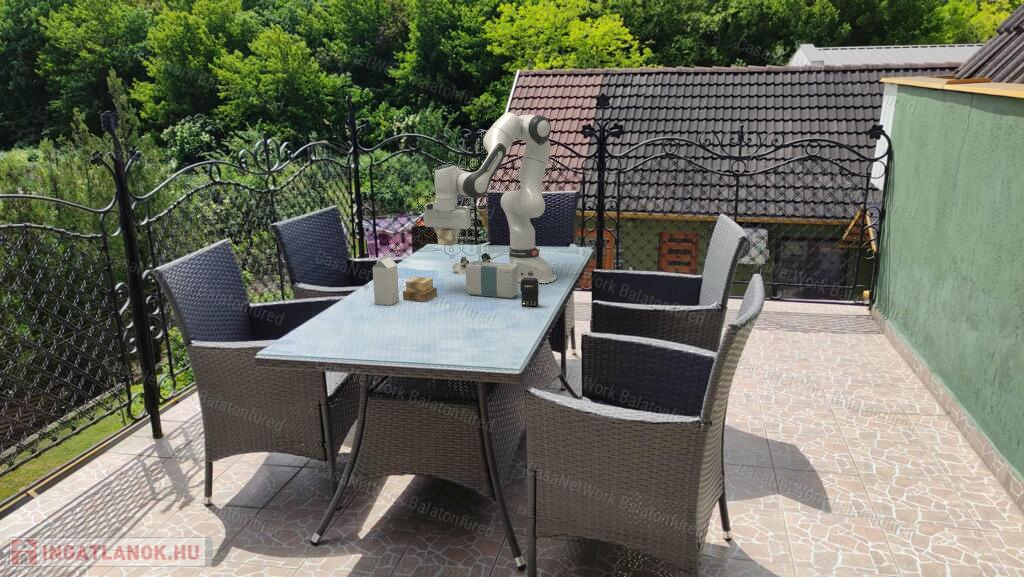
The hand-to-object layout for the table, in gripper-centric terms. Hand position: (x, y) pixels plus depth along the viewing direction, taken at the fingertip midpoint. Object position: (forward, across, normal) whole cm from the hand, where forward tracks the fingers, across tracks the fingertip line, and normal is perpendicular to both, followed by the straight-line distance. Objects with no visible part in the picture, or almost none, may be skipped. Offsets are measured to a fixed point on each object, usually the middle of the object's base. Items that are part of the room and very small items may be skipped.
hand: (447, 238), depth 283 cm
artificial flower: (+24, +9, -40) cm, 48 cm away
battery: (+23, -39, +8) cm, 46 cm away
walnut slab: (+23, +7, +12) cm, 27 cm away
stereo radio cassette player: (+23, -19, -2) cm, 30 cm away
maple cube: (+2, 0, 0) cm, 2 cm away
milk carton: (+23, +16, +23) cm, 36 cm away
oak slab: (+19, +7, +12) cm, 24 cm away
